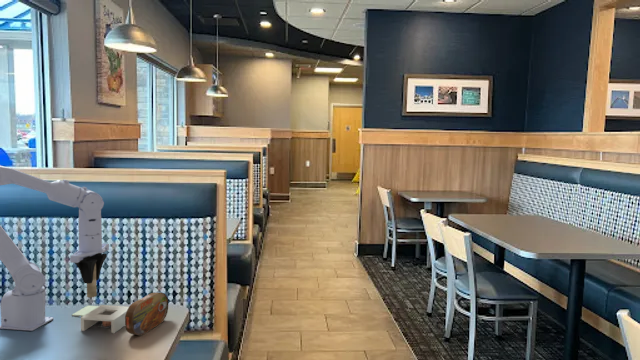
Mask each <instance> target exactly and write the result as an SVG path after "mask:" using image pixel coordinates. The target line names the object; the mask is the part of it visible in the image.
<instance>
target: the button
mask: <svg viewBox="0 0 640 360" xmlns="http://www.w3.org/2000/svg"><path fill="white" fill-rule="evenodd" d="M101 324H102V325H103V326H110V325H111V322H110V321H101Z"/></svg>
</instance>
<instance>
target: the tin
mask: <svg viewBox="0 0 640 360" xmlns="http://www.w3.org/2000/svg"><path fill="white" fill-rule="evenodd" d="M128 307H129V308H128V310H127V312H126V315H125V330H126V332H128V333H129V334H131V335H135V336H143V335H145V334H146V333H148V332H150V331H151V330H153V329H154V328H155V327H157V326H159V325H160V324H162V323H163V322H164V321H165V319H166V317H167V314H168V311H169V299H168V297H167V294H165V293H164V292H161V291H160V292H151V293H149V294H147V295H145V296H144V297H142V298H140V299H138V300H136V301H134V302H132V303H131V304H130V305H129V306H128Z"/></svg>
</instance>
